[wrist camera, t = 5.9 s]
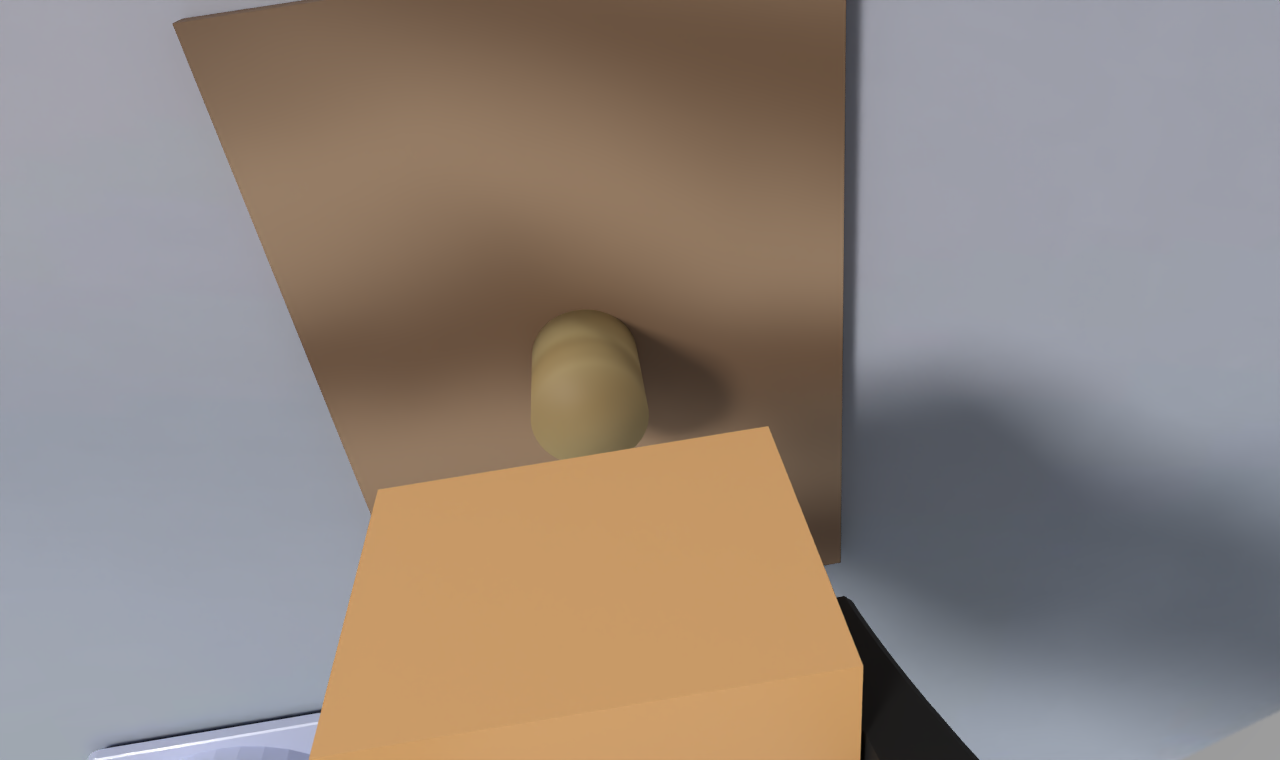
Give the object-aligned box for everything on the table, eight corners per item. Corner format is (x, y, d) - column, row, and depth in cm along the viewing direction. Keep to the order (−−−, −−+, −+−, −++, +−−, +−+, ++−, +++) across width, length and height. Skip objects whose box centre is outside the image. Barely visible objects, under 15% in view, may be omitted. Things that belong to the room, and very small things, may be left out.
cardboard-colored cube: (781, 676, 14) (855, 928, 11) (471, 728, 14) (449, 999, 11) (768, 426, 11) (863, 666, 8) (377, 489, 11) (309, 758, 8)
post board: (835, 550, 24) (870, 632, 21) (420, 618, 24) (406, 709, 21) (838, -81, 15) (897, -68, 13) (182, 18, 15) (110, 52, 12)
